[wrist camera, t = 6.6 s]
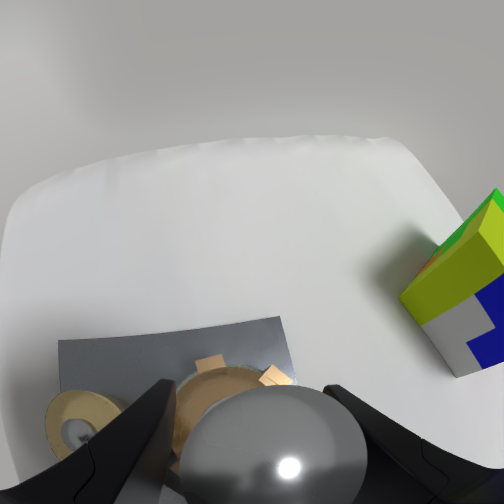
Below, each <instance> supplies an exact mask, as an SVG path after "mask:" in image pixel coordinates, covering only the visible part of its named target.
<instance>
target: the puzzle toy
mask: <svg viewBox="0 0 504 504" xmlns="http://www.w3.org/2000/svg"><path fill="white" fill-rule="evenodd" d="M398 299H399V300H400V301H401V302H402V304H403V305H404V306H405V307H406V309H407V310H408V311H409V313H410V314H411V315H412V316H413V318H414V319H415V320H416V322H417V323H418V324H419V326H420V327H421V328H422V329H423V331H424V332H425V334H426V335H427V336H428V338H429V339H430V340H431V342H432V343H433V344H434V346H435V347H436V349H437V350H438V351H439V353H440V354H441V356H442V357H443V359H444V360H445V361H446V363H447V364H448V366H449V367H450V369H451V370H452V372H453V373H454V375H455V376H456V378H459V377H462V376H465V375H468V374H471V373H474V372H477V371H480V370H483V369H486V368H488V367H491V366H494V365H496V364H499V363H501V362H504V196H503V195H502V194H501V193H500V192H499V190H498V189H497V188H495V189H494V190H493V192H492V193H491V194H490V195H489V196H488V197H487V199H486V200H485V201H484V202H483V203H482V204H481V205H480V206H479V207H478V208H477V209H476V210H475V211H474V213H473V214H472V215H471V216H470V217H469V218H468V219H467V220H466V221H465V222H464V223H463V224H462V225H461V226H460V227H459V228H458V229H457V230H456V231H455V232H454V233H453V234H452V235H451V236H450V237H449V238H448V239H447V240H446V241H445V242H444V243H442V244H441V245H440V246H439V248H438V249H437V250H436V252H435V253H434V254H433V256H432V257H431V258H430V260H429V261H428V262H427V263H426V265H425V266H424V267H423V268H422V270H421V271H420V272H419V273H418V275H417V276H416V277H415V278H414V280H413V281H412V282H411V283H410V284H409V286H408V287H407V288H406V289H405V290H404V291H403V293H402V294H401V295H400V296H399V297H398Z"/></svg>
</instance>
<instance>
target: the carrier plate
mask: <svg viewBox="0 0 504 504" xmlns="http://www.w3.org/2000/svg"><path fill="white" fill-rule="evenodd" d="M58 352H59V374H60V387H61V394H59V395H58V396H56V397H55V398H54V399H53V400H52V402H51V403H50V405H49V407H48V409H47V412H46V417H45V430H46V435H47V439H48V442H49V444H50V446H51V448H52V450H53V452H54V453H55V455H56V456H57V457H58V459H59V460H60V461H61V460H63V459H64V458H66V457H67V456H68V455H70V454H71V453H72V452H74V451H75V450H76V449H78V448H79V447H80V446H81V445H83V444H84V443H87V441H88V440H89V439H90V438H91V437H93V436H94V435H95V434H96V433H97V432H99V431H100V430H101V429H102V428H103V427H105V426H106V425H107V424H108V423H109V422H111V421H112V420H113V419H114V418H115V417H117V416H118V415H119V414H120V413H121V412H122V411H124V410H125V409H126V408H127V407H128V406H129V405H131V404H132V403H133V402H134V401H135V400H136V399H138V398H139V397H140V396H141V395H142V394H143V393H144V392H146V391H147V390H148V389H149V388H150V387H151V386H152V385H154V384H155V383H156V382H157V381H158V380H159V379H161V378H166V379H173V380H175V383H176V394H177V393H178V391H179V390H180V389H181V388H182V387H183V386H184V385H185V384H186V383H187V382H188V381H189V380H191V379H192V378H194V377H195V376H197V375H199V373H198V369H197V366H196V363H195V361H196V360H200V359H204V358H208V357H211V356H215V355H219V354H222V357H223V360H224V363H225V366H226V367H240V368H246V369H250V370H254V371H256V372H259V373H261V372H262V371H263V370H264V369H266V368H267V367H269V366H270V365H272V364H273V365H274V366H275V367H276V368H278V369H279V370H280V371H281V372H283V373H284V374H285V375H286V376H288V377H289V378H290V379H291V380H293V381H292V383H291V384H290V385H297V386H298V384H297V380H296V376H295V373H294V369H293V365H292V361H291V357H290V353H289V350H288V346H287V342H286V338H285V334H284V331H283V327H282V323H281V319H280V316H277V317H272V318H266V319H260V320H255V321H249V322H242V323H236V324H230V325H223V326H216V327H209V328H202V329H194V330H186V331H178V332H169V333H160V334H150V335H139V336H127V337H114V338H98V339H78V340H58ZM176 458H178V457H177V456H176V454H175V452H174V451H173V449H172V447H171V452H170V457H169V461H168V465H167V469H166V473H165V478H164V482H163V486H162V490H161V495H160V499H159V503H158V504H188V503H187V501H186V499H185V497H184V494H183V492H182V489H181V484H180V478H179V475H177V474H176V473H175V472H174V471H172V470H171V469H170V467H171V466H172V464H173V463H174V461H175V460H176Z"/></svg>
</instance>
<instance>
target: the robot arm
mask: <svg viewBox="0 0 504 504" xmlns="http://www.w3.org/2000/svg"><path fill="white" fill-rule="evenodd" d="M322 393H324V394H326V395H328V396H330V397H332V398H333V399H335V400H337V401H338V402H339V403H341V404H342V405H343V406H344V407H345V408H347V410H348V411H349V412H350V413H351V414H352V415H353V416H354V418H355V419H356V421H357V422H358V424H359V426H360V428H361V430H362V432H363V435H364V438H365V442H366V448H367V467H366V473H365V477H364V480H363V483H362V486H361V488H360V490H359V492H358V494H357V496H356V497H355V499H354V501H353V502H352V503H351V504H504V468H503V469H491V468H486V467H483V466H481V465H478V464H475V463H473V462H470V461H468V460H465V459H463V458H460V457H458V456H456V455H453V454H451V453H449V452H447V451H445V450H443V449H441V448H439V447H437V446H435V445H433V444H431V443H430V442H428V441H426V440H425V439H423V438H422V439H421V437H419V436H418V435H416V434H414V433H413V432H411V431H409V430H408V429H406V428H404V427H403V426H401V425H400V424H398V423H396V422H395V421H393V420H392V419H390V418H388V417H387V416H385V415H384V414H382V413H381V412H379V411H377V410H376V409H374V408H373V407H371V406H370V405H368V404H367V403H365V402H364V401H362V400H361V399H359V398H358V397H356V396H355V395H353V394H352V393H350V392H349V391H347V390H346V389H344V388H343V387H342V386H340V385H337V384H335V385H327V386H325V387H324V389H323V392H322ZM175 412H176V383H175V380H173V379H166V378H161V379H159V380H158V381H157V382H156V383H155V384H154V385H152V386H151V387H150V388H149V389H148V390H147V391H146V392H144V393H143V394H142V395H141V396H140V397H139V398H138V399H136V400H135V401H134V402H133V403H132V404H131V405H129V406H128V407H127V408H126V409H125V410H124V411H122V412H121V413H120V414H119V415H118V416H117V417H115V418H114V419H113V420H112V421H111V422H109V423H108V424H107V425H106V426H105V427H103V428H102V429H101V430H100V431H99V432H97V433H96V434H95V435H94V436H93V437H91V438H90V439H89V440H88V441H87V443H84V444H83V445H81V446H80V447H79V448H78V449H76V450H75V451H74V452H72V453H71V454H70V455H68V456H67V457H66V458H64V459H63V460H61V461H60V462H58V463H56V464H55V465H53V466H52V467H50V468H48V469H47V470H45V471H43V472H41V473H39V474H38V475H36V476H34V477H32V478H30V479H28V480H26V481H24V482H22V483H21V484H19V485H17V486H14V487H12V488H9V489H5V490H0V504H158V503H159V499H160V495H161V490H162V486H163V482H164V478H165V473H166V469H167V465H168V461H169V457H170V452H171V447H172V439H173V430H174V421H175Z"/></svg>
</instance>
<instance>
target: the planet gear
mask: <svg viewBox="0 0 504 504" xmlns="http://www.w3.org/2000/svg"><path fill="white" fill-rule="evenodd" d="M195 363H196V366H197V369H198V373H199V375H197V376H195V377H194V378H192V379H191V380H189V381H188V382H187V383H186V384H185V385H184V386H183V387H182V388H181V389H180V390H179V391H178V393H177V394H176V412H175V421H174V430H173V439H172V449H173V451H174V452H175V454H176V456H177V457H178V458H176V460H175V461H174V463H173V464H172V466H171V467H170V469H171V470H172V471H174V472H175V473H176V474H177V475H179V478H180V484H181V489H182V492H183V494H184V497H185V499H186V501H187V503H188V504H351V503H352V502H353V501H354V499H355V497H356V496H357V494H358V492H359V490H360V488H361V486H362V483H363V480H364V477H365V473H366V467H367V448H366V442H365V438H364V435H363V432H362V430H361V428H360V426H359V424H358V422H357V421H356V419H355V418H354V416H353V415H352V414H351V413H350V412H349V411H348V410H347V408H345V407H344V406H343V405H342V404H341V403H339V402H338V401H337V400H335V399H333V398H332V397H330V396H328V395H326V394H324V393H322V392H320V391H317V390H314V389H311V388H307V387H302V386H297V385H290V384H291V383H292V381H293V380H291V379H290V378H289V377H288V376H286V375H285V374H284V373H283V372H281V371H280V370H279V369H278V368H276V367H275V366H274V365H273V364H272V365H270V366H269V367H267V368H266V369H264V370H263V371H262V372H261V373H259V372H256V371H254V370H250V369H246V368H240V367H226V366H225V363H224V360H223V357H222V354H219V355H215V356H211V357H208V358H204V359H200V360H196V361H195Z"/></svg>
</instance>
